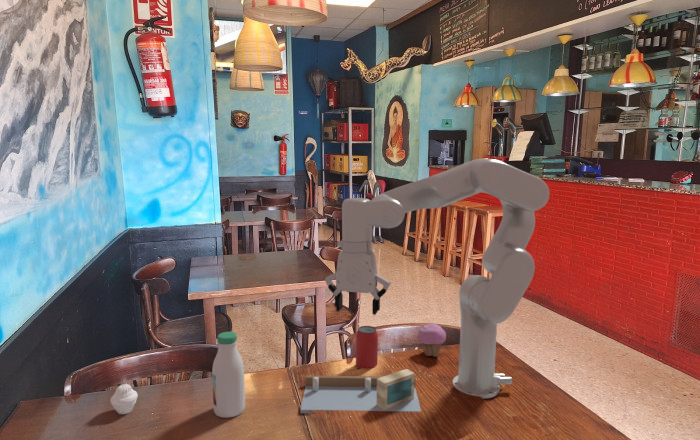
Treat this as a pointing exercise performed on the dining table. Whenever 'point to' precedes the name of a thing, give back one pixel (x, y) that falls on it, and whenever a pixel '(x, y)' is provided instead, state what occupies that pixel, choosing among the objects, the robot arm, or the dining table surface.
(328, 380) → the ledge
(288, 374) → the dining table surface
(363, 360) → the beer can
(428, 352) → the cupcake
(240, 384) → the milk bottle
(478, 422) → the dining table surface
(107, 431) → the dining table surface
